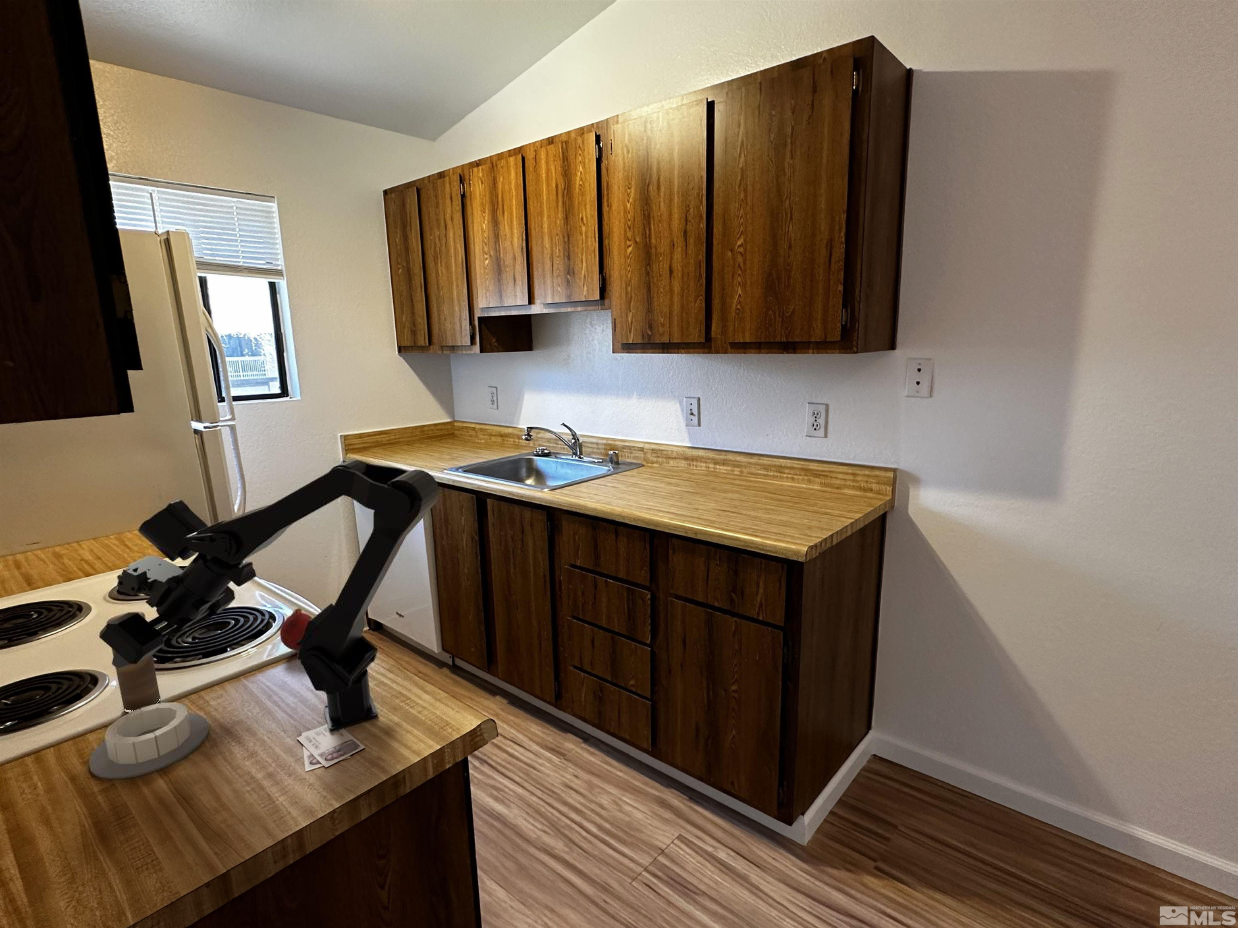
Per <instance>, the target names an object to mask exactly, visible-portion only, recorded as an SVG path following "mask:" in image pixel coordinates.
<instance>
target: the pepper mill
mask: <svg viewBox="0 0 1238 928" xmlns="http://www.w3.org/2000/svg"><path fill="white" fill-rule="evenodd" d="M134 612H135V613H139V614H140V615H141V616H142V617H143V618H144V619H146V614H145V612H143V611H134ZM126 613H127V612H125V613H121V614H118V615H115V616H113V617H111V618H109V619H108V620H107V621H106V624H107V623H109V622H111V621H113V620H115V619H117V618H119V617H121V616H123V615H124V614H126ZM111 651H112V653H111V654H112V657H113V656H114V652H115V651H114V650H113V649H112V648H111ZM115 672H116V677H117V681H118V686H119V687H118V688H119V692H120V695H121V696H120V697H121V701H122V705H123V706H122V707H123V710H124V709H126V710H131V711H132V710H133V711H134V710H137V709H140V710H141V708H143V707H147V706H151V705H154V704H156V703H157V702H158V701H159V699H161V693H160V689H159V684H158V679H157V674H156V669H155V661H154V658H153V654H152V655H151V656H149V657H148V658H146V659H144V660H143V661H141V662H139V663H138V664H129V665H127V666H124V667H121V668H118V669H117V668H116V667H115Z"/></svg>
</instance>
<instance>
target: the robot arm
mask: <svg viewBox="0 0 1238 928" xmlns="http://www.w3.org/2000/svg"><path fill="white" fill-rule="evenodd" d="M440 490H441V489H440V487H439V484H438V482H437V481H436V478H435V477H434V476H433V475H432V474H430V473H429V472H428V471H425V470H423V469H413V470H407V469H405V468H400V467H396V466H388V465H380V464H374V463H370V462H367V461H363V460H359V459H354V458H353V459H350V460H347V461H344V462H341V463H339V464H337V465H334V466H333V467H332V468H331V469H330V470H329V471H328V472H326V473H324V474H323V475H321V476H319V477H317V478H316V479H314V480H312V481H310V482H309V483H307V484H305V485H303V486H302V487H300V488H298V489H296V490H294V491H292V492H291V493H289V494H287V495H285V496H284V497H282V498H280V499H278V500H277V501H275V502H273V503H272V504H268V505H264V506H261V507H257V508H254V509H252V510H249V511H246V512H244V513H241V514H239V515H237V516H235V517H233V518H230V519H224V520H220V521H217V522H215V523H213V524H211V525H208V524H207V523H206V522H205V521H204V520H203V519H201V518H200V517H199V516H198V515H197V514H196V513H195V512H194V511H192V509H191V508H190V507H189V505H188V504H186V503H185V502H184V501H183V500H182V499H178V500H177V499H176V500H175V501H172V502H169V503H168V504H167V505H166V506H165V507H164V508H163V509H161V510H159V511H158V512H155V514H153V515H152V516H151V517H150V518H148V519H146V520H144V521H143V522H142V523H141V524H140V526H139V527H138V530H137V532H138V533H139V534H140V536H142V537H143V538H144V539H145V540H147V542H149V543H150V544H151V545H152V546H153V547H154V548H156V549H157V550H158V551H159V552H160V553H161V554H162V555H164V557H166V558H167V559H168V560H169V561H168V560H166V559H163V558H162V557H160V556H157V555H148V556H145V557H142V558H141V559H138V560H136V561H134V562H132V563H129V564H128V566H127V567H125V568H124V569H123V570H122V572H121V573H120V574H118V575H117V576H116V579H117V584H116V587H117V588H118V589H119V590H121V591H123V592H124V593H127V594H128V595H129V594H130V595H131V596H135V595H138V594H141V595H144V596H146V597H148V598H147V599H146V601H145V603H146V604H147V605H148V606H149V607H150V608H152V609H153V608H156V609H155V612H156V613H157V615H158V616H156V617H154V618H152V619H151V620H149V621H148V620H147V619H146V618H145V619H144V618H143V617H142V616H141V615H140V614H139V613H135V612H136V611H130V612H129V611H128V612H125V613H126V614H124V613H123V614H124V615H123V616H121V617H119V618H117V619H115V620H113V621H111V622H109V623H107V622H106V625H105V626H104V627H103V628H102V629H101V630H100V631H99V634H98V635H99V638H100V640H102V641H103V642H104V643H105V644H107V646H108V647H110V648H111V650H112V649H113V650H114V651H115V652H114V656H113V655H112V661H111V665H112V666H113V667H115V669H116V668H117V669H118V668H121V667H124V666H127V665H129V664H138V663H139V662H141V661H143V660H144V659H146V658H148V657H149V656H151V655H152V656H153V655H154V654H155V653H157V651H158V650H159V649H161V647H162V646H163V645H164V644H165V641H164V636H163V635H164V634H165V635H166V636H167V637H172V636H174V635H176V634H179V633H181V632H183V631H186V630H188V629H190V628H192V627H193V626H196V625H198V624H200V623H202V622H204V621H207V620H208V619H211V618H213V617H214V616H215V615H217V614H219V613H221V612H222V611H223V610H225V609H226V608H228V607H229V606H230V605H231V604H232V603H233V602H234V601H235V599H236V595H235V590H233V589H232V588H231V587H230V583H231V582H232V583H233V584H234V585H235V586H237V587H239V588H240V587H242V586H243V585H245V584H247V583H248V582H250V581H252V580H253V579H255V578H256V577H257V572H256V569H255V568H254V567H253V565H254V563H253V562H252V561H246V559H247V558H249V557H251V556H253V555H255V554H257V553H259V552H260V551H262V550H264V549H266V548H268V547H269V546H271V545H272V544H273V543H274V542H275V541H277V540H278V539H279V538H280V537H281V536H283V534H285V532H286V531H287V530H288V529H289V528H290V527H291V526H292V525H293V524H294V523H296V522H298V521H300V520H302V519H304V518H305V517H307V516H309V515H311V514H313V513H315V512H316V511H319V510H320V509H322V508H323V507H325V506H327V505H329V504H331V503H332V502H334V501H336V500H338V499H340V498H341V497H343V496H344V497H348V498H350V499H352V500H354V501H355V502H356V503H358V504H360V506H362V507H364V508H365V509H369V510H372V511H373V513H372V514H373V518H372V519H373V520H372V521H373V523H372V525H373V526H372V527H373V528H372V531H371V533H370V536H369V537H368V539H367V542H366V543H365V545H364V547H363V549H362V551H361V553H360V554H359V556H358V558H357V560H356V562H355V565H354V566H353V568H352V569H351V572H350V573H349V576H348V577H347V580H346V581H345V583H344V584H343V585H344V586H343V587H342V589H341V591H340V592H339V595H338V597H337V599H336V600H335V602H334V604H333V603H331V602H330V603H329V604H328V605H327V606H326V607H324V608H323V609H322V610H320V612H318V613H317V614H316V615H315V616H314V617H312V619H311V620H310V621H309V622H308V624H307V626H306V629H305V632H304V635H303V637H302V639H301V640H300V641H298V642H297V643H296V645H297V646H300V648H299V650H298V651H297V659H298V660H299V662H300V665H301V666H302V667H303V669H304V671H305V673H306V675H307V677H308V679H309V681H310V683H311V685H312V686H313V689H314V691H316V692H324V693H325V695H326V702H327V704H325V705H324V706H323V707H322V709H323V712H324V716H325V720H326V724H327V728H328V730H329V731H330V732H333V731H337V730H340V729H343V728H347V727H350V726H353V725H357V724H360V723H362V722H365V721H369V720H372V719H375V718H377V717H378V716H379V713H378V710H377V707H376V705H375V703H374V701H373V698H372V695H371V689H370V682H369V681H370V680H369V672H368V671H369V670H368V668H369V667H370V665H371V664H372V663H374V662H375V660H376V659H377V654H378V651H379V649H378V647H376V646H375V645H374V644H373V643H372V642H371V641H369V639H367V638H366V637H365V636H364V635H363V632H364V630H365V614H366V613H367V610H368V608H369V607H370V604H371V602H372V601H373V599H374V597H375V595H376V594H377V592H378V589H379V588H380V586H381V584H382V583H383V581H384V578H385V577H386V575H387V573H388V571H389V569H390V567H391V566H392V563H393V562H394V560H395V558H396V556H397V555H398V552H399V551H400V549H401V546H402V545H403V543H404V541H405V540H406V537H407V536H408V535H409V534H410V533H411V532H412V531H413V530H414V528H416V526H417V525H418V524H419V523H420V522H421V521H422V519H424V517H425V516H426V515H427V514H428V512H429V511H430V510H431V509H432V508H433V507H434V505H435V504H436V503H437V502H438V500H439V497H440V492H441V491H440ZM195 555H196V556H195ZM194 556H195V557H194ZM193 557H194V558H193ZM190 558H193V559H192V560H191V561H190V562H189V564H187V566H186V567H185V568H184V569H181V568H180V567H179V566H178V565H176V564H174V563H172V562H175V561H177V559H180V560H182V561H187V560H189V559H190ZM170 561H171V562H170Z"/></svg>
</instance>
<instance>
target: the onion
mask: <svg viewBox="0 0 1238 928" xmlns="http://www.w3.org/2000/svg"><path fill="white" fill-rule="evenodd" d="M312 618H313V617H312V616H311V615H310V614H307V613H305V612H302V608H301V607H296V608H295V609H294V610H293V612H292V613H291V614H290V615H288V617H286V619H285V620H284V622H283V623H282V624H281V626H280V630H279V635H280V637H279V638H280V641H281V643H282V644H283V645H284V646H285V647H287V648H288V649H290V650H291V651H295V652H298V650H299V648H300V646H297V645H296V643H297V642H298V641H300V640H301V639H302V637H303V635H304V632H305V629H306V626H307V624H308V622H309V621H310V620H311V619H312Z"/></svg>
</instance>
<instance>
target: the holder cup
mask: <svg viewBox="0 0 1238 928" xmlns="http://www.w3.org/2000/svg"><path fill="white" fill-rule="evenodd" d="M188 709H189V708H188V707H187V706H186V705H185V704H183V703H180V702H175V701H174V702H161V703H160V702H159V703H158V704H154V705H151V706H147V707H143V708H141V710H140V709H137V710H135V711H133V712H131V713H126V714H125V715H122V716H121V717H119V718H117V720H115V721H114V722H113V723H112V724H110V725H109V726H108V727H107V729H106V732H105V735H104V741H102V742H101V743H100V744H98V746H97V747H96V748H95V749H94V750H93V752H92V754H91V755H90V757H89V761H88V764H89V765H88V766H89V769H90V770H89V771H90V772H91V774H92V775H94V776H95V777H98V778H99V779H100V778H101V779H104V780H105V779H106V780H124V779H125V780H126V779H133V778H136V777H141V776H144V775H147V774H150V773H154V772H157V771H159V770H162V769H165V768H166V767H169V766H171V765H173V764H174V763H177V762H179V761H181V760H182V759H184V758H185V757H187V756H189V755H190V754H191V753H193V752H194V751H196V750H197V748H199V747H200V746H201V745H202V744H203V742H204V741H205V740H206V739H207V737H208V734H209V731H210V727H209V722H208V720H207V719H206V717H204V716H202V714H201V715H200V714H198V713H193V712H189V710H188Z"/></svg>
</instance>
